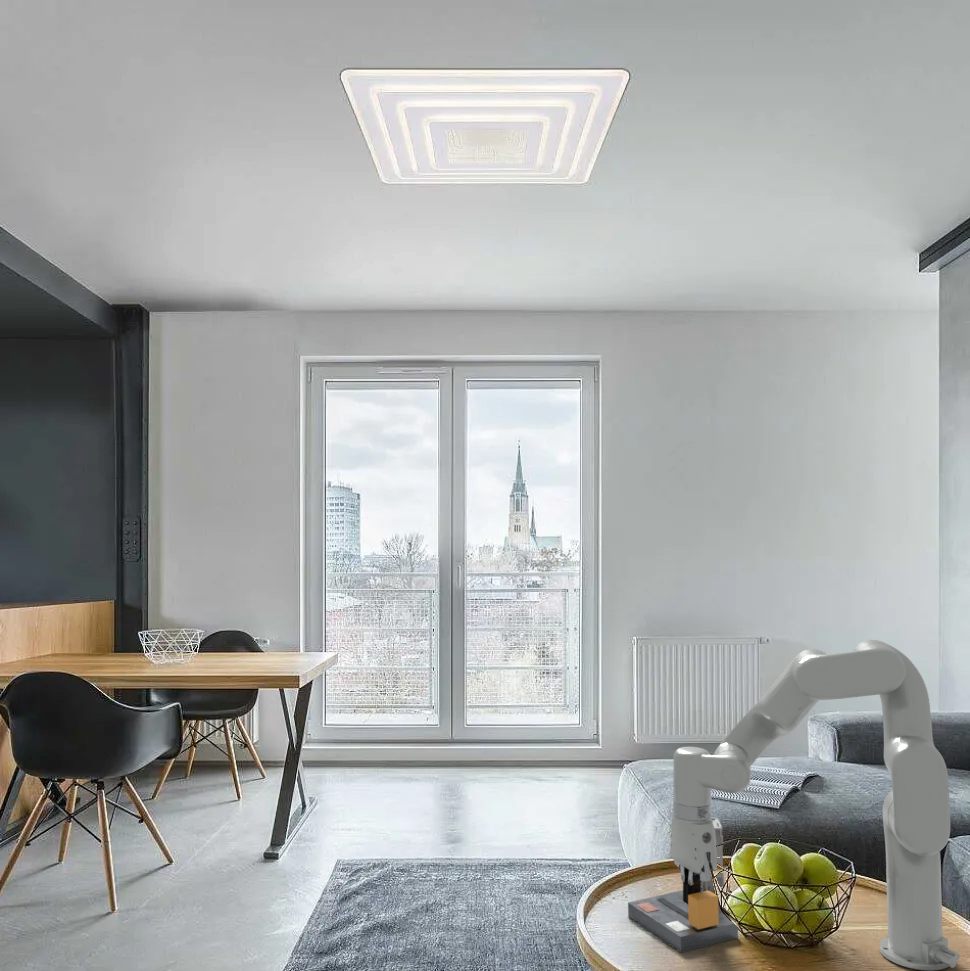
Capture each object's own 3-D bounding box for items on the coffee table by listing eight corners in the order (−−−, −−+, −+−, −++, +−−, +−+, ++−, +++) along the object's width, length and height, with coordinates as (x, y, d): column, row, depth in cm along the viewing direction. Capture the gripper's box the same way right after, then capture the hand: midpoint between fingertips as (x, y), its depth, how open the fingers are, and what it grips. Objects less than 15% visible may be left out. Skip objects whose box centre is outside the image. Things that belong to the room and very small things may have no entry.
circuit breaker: (714, 872, 219) (713, 808, 220) (724, 897, 205) (722, 828, 206) (682, 871, 220) (681, 807, 220) (689, 896, 206) (688, 827, 206)
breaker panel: (738, 937, 185) (737, 922, 185) (681, 952, 179) (680, 936, 179) (682, 904, 201) (682, 889, 202) (628, 916, 195) (628, 902, 196)
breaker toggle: (718, 924, 184) (718, 895, 184) (698, 929, 182) (697, 900, 182) (708, 918, 186) (708, 890, 187) (688, 923, 184) (688, 894, 184)
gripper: (730, 819, 183) (730, 914, 182) (685, 797, 196) (685, 885, 196) (699, 824, 179) (699, 920, 179) (655, 802, 193) (655, 891, 193)
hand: (691, 902), depth 187 cm, fingers closed
